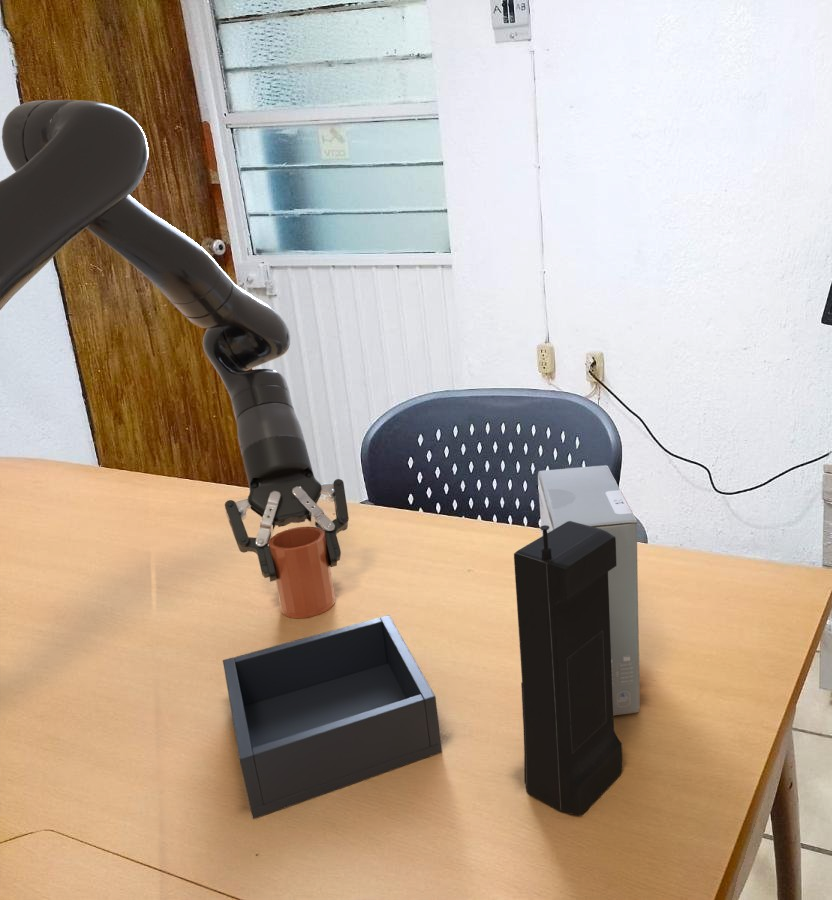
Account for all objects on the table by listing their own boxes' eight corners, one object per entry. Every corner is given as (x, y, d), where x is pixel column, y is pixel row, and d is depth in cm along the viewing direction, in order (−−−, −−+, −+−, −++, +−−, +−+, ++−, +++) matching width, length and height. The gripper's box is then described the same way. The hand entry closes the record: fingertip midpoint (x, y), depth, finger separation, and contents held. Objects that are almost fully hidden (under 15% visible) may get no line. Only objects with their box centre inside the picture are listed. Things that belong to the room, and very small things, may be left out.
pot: (285, 623, 96) (272, 554, 93) (278, 600, 102) (265, 534, 99) (339, 609, 99) (328, 541, 96) (329, 587, 104) (319, 522, 101)
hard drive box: (642, 715, 78) (638, 522, 72) (562, 725, 77) (550, 531, 71) (613, 628, 93) (607, 462, 86) (545, 636, 92) (534, 468, 85)
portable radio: (575, 739, 75) (562, 484, 67) (631, 764, 72) (623, 499, 64) (519, 791, 69) (496, 518, 61) (577, 821, 66) (561, 537, 58)
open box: (252, 819, 67) (239, 759, 65) (234, 712, 81) (222, 659, 79) (442, 752, 74) (435, 696, 72) (396, 664, 88) (389, 614, 86)
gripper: (208, 444, 97) (236, 576, 91) (333, 423, 103) (368, 545, 97) (213, 473, 103) (240, 598, 97) (331, 451, 109) (363, 567, 103)
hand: (304, 571), depth 97 cm, fingers closed on pot, 6 cm apart
